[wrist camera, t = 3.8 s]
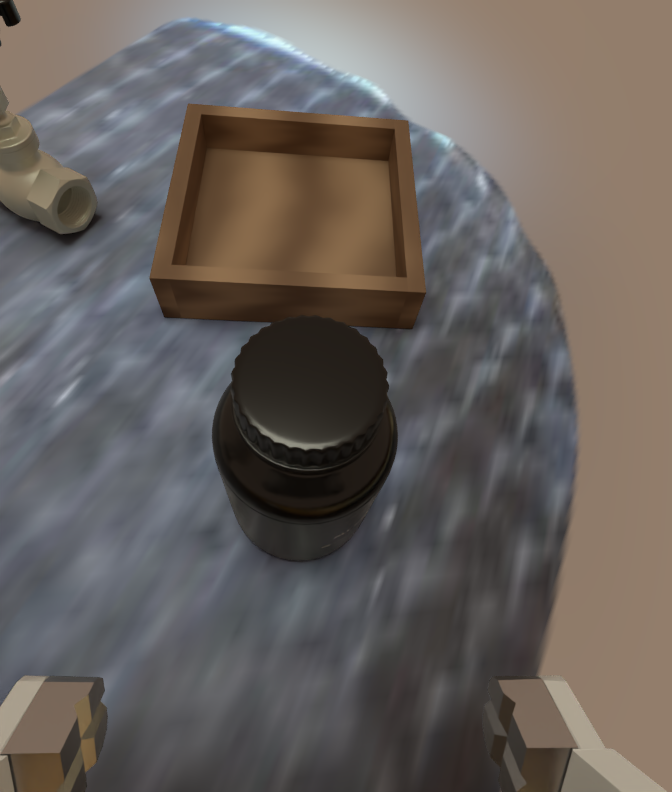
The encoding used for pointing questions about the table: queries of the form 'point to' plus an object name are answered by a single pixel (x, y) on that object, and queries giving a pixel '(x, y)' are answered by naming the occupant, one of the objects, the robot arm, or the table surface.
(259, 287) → the walnut tray
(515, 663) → the table surface
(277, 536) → the supplement bottle
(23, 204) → the valve
